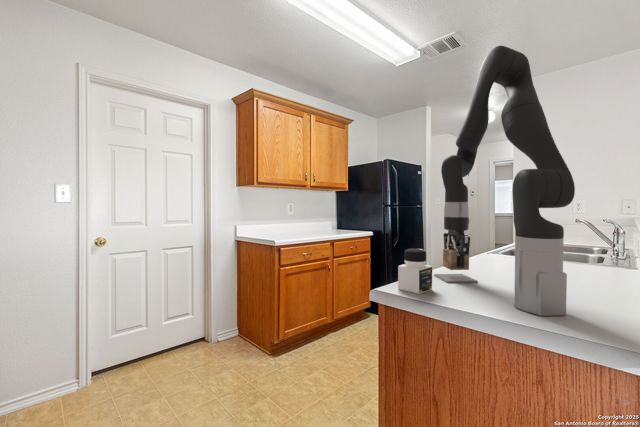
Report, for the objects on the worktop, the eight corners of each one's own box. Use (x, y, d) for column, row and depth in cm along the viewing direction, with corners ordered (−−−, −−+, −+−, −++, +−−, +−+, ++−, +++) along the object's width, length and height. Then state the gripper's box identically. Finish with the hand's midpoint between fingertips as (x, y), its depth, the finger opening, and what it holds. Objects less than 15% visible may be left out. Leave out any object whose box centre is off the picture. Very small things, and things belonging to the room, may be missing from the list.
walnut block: (468, 269, 98) (469, 251, 98) (450, 269, 98) (451, 251, 98) (459, 266, 104) (460, 248, 104) (442, 266, 104) (443, 248, 103)
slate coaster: (477, 282, 96) (477, 280, 96) (447, 282, 95) (447, 281, 95) (461, 275, 106) (461, 273, 106) (434, 275, 105) (434, 274, 105)
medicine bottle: (419, 294, 83) (419, 251, 83) (397, 289, 88) (397, 248, 88) (432, 289, 88) (432, 249, 87) (410, 285, 93) (411, 246, 93)
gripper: (479, 216, 93) (478, 270, 94) (456, 215, 108) (456, 261, 108) (455, 216, 93) (455, 270, 93) (436, 215, 107) (435, 261, 108)
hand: (455, 265), depth 101 cm, fingers closed on walnut block, 6 cm apart
